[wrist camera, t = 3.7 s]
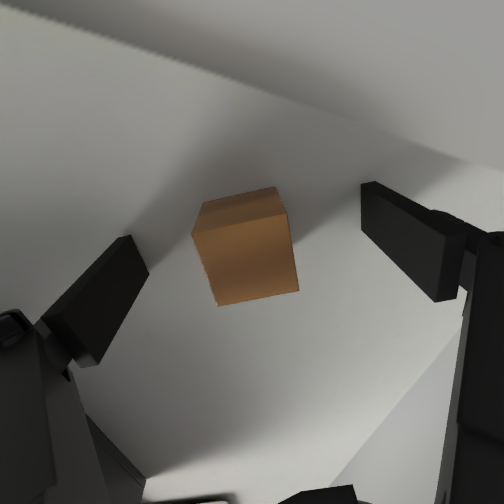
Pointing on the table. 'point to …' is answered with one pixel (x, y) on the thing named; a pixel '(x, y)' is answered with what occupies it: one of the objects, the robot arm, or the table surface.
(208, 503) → the gray flat rectangular board
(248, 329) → the table surface
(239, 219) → the block
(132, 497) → the dark gray cabinet body
